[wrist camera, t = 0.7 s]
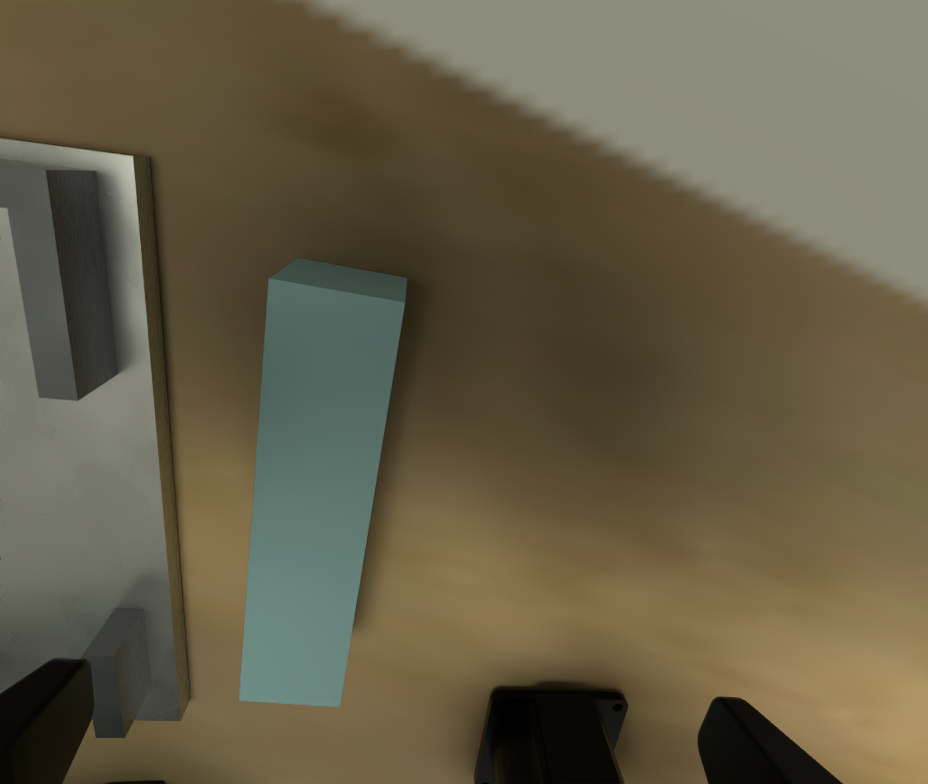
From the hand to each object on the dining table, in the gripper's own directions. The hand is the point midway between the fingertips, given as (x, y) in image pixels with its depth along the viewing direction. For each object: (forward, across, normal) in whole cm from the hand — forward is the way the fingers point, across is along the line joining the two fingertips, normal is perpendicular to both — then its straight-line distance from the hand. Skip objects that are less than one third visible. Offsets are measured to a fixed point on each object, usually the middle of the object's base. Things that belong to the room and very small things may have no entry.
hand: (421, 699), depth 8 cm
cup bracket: (+12, +14, +5) cm, 19 cm away
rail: (+13, +3, +3) cm, 13 cm away
